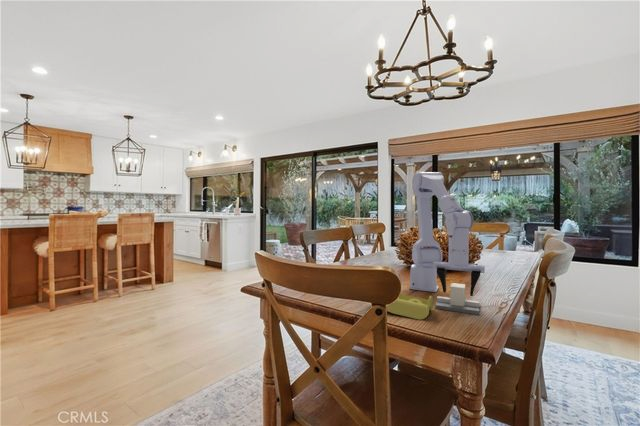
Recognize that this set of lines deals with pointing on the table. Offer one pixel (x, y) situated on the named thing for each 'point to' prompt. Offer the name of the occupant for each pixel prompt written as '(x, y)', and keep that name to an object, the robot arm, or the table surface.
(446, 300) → the rail board
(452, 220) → the robot arm
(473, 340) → the table surface
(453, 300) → the block
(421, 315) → the plastic component
